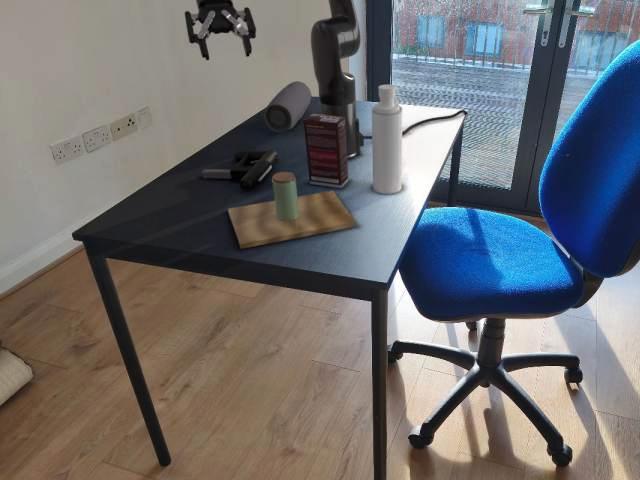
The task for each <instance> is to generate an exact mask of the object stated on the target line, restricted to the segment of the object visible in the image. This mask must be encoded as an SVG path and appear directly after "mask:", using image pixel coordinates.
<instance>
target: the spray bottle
mask: <svg viewBox="0 0 640 480" xmlns="http://www.w3.org/2000/svg"><path fill="white" fill-rule="evenodd" d="M395 97H396V86H395V85H393V84H381V85H378V98H379V102H376V103H375V104H374V105H373V106H372V107H371V136H372V139H371V142H372V143H371V145H372V147H371V148H372V150H371V151H372V188H373V191H375V192H376V193H379V194H384V195H392V194H396V193H398V192H400V191H401V190H402V179H403V178H402V176H403V175H402V174H403V173H402V170H403V168H402V167H403V165H402V164H403V161H402V160H403V136H402V132H403V107H402V106H401V105H400V104H399V103H397V102H395Z"/></svg>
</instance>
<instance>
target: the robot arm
mask: <svg viewBox="0 0 640 480" xmlns="http://www.w3.org/2000/svg"><path fill="white" fill-rule="evenodd" d="M327 1H328V4H329V9H330V15H331V16H330V17H327V18H324V19H318V20H317V21H316V22H314V24H313V25H312V26H311V29H310V30H311V31H310V48H311V49H310V50H311V57H312V64H313V73H314V77H315V79H316V82H317V87H318V100H319V102H318V103H319V114H323V115H333V116H342V117H345V127H346V145H347V160H351V159H353V158H355V157H357V156H361V147H364V146H365V140H372V135H364V134H363V133H362V132H360V120H359V118H358V117H357V97H356V96H357V94H356V78H355V76H354V75H353V73H349V72H346V71H343V69H342V63H341V62H342V61H341V60H343V59H346V58H351V57H353V56H354V55H356V54H357V53H358V52H359V49H360V47H361V42H362V41H361V29H360V23H359V20H358V15H357V11H356V7H355V2H354V0H327ZM195 2H196V6H197V9H198V12H197V13H191V12H190V11H189V10H185V12H184V20H185V26H186V31H187V37H188V42H189V43H190V44H197V45H198V47H199V51H200V55H201V57H202V58H203V59H204V58H205V61H210V53H209V49H208V45H207V40H208V39H209V38H210V36H211V35H212V34H214V35H219V34H230V33H232V34H233V35H234V36H235V37H238V38H240V39H241V40H242V46H243V50H244V55H245V57H247V58H248V57H250V55H251V54H252V52H253V51H252V50H253V47H252V44H251V43H252V42H251V39H256V38H257V27H256V24H255V21H254V18H253V15H252V13H251V9H250V8H249V7H247V6H245V7H244V8H243V10H237V9H236V8H235V6H234V2H233V0H195ZM239 19H241V21H242V22H243V23H245V24H246V28H247V29H246V28H245V27H244V26H243V25H242V24H241V22H240V21H238V20H239ZM197 22H199V23H200V24H201V29H200V30H199V32H198V33H195V30H194V26H196V24H197ZM461 114H464V115H469V112H468V111H467V110H465V109H460V110H458V111H457V112H455V113H453V114H450V115H443V116H436V117H431V118H426V119H423V120H420V121H418V122H416V123H413V124H411V125H409V126H407V128H406V129H405V130H402V137H403V136H405V135H406V134H407V133H409V132H410V131H411V130H412V129H414V128H416V127H419V126H421V125H423V124H426V123H430V122H435V121H441V120H449V119H453V118H456V117H457V116H459V115H461Z"/></svg>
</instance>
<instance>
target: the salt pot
mask: <svg viewBox="0 0 640 480" xmlns="http://www.w3.org/2000/svg"><path fill="white" fill-rule="evenodd" d="M271 184H272V192H273V199H274V200H273V201H275V208H276V215H277V218H278V219H279V220H282V221H291V220H295V219H297V218H298V217H299V206H298V197H299V196H298V188H297V180H296V176H295V174H294V173H293V172H290V171H279V172H276V173H275V174H273V175H272V178H271Z"/></svg>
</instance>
